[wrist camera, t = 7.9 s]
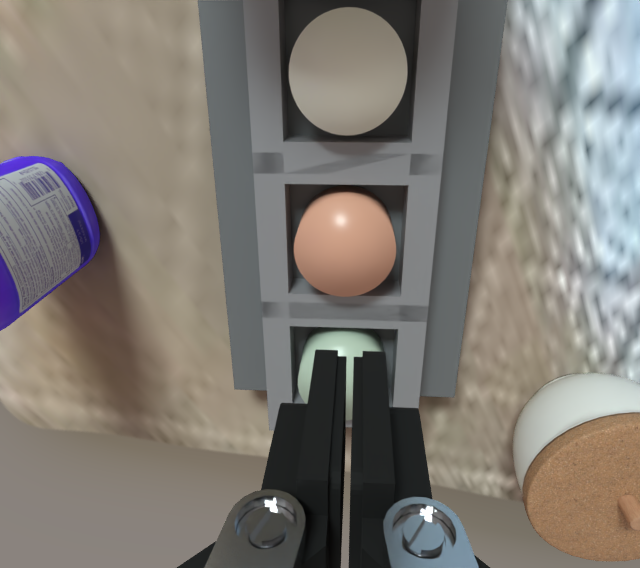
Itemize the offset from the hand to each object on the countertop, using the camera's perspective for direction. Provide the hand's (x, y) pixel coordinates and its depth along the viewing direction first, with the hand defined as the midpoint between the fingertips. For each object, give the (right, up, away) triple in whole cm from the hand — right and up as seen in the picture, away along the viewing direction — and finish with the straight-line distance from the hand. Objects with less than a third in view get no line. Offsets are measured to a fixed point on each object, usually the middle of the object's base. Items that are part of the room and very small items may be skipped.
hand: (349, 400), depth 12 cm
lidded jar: (+17, -6, +23) cm, 30 cm away
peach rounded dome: (+1, +6, +15) cm, 16 cm away
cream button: (+1, +13, +12) cm, 18 cm away
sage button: (+1, -1, +19) cm, 19 cm away
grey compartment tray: (+1, +7, +18) cm, 19 cm away
